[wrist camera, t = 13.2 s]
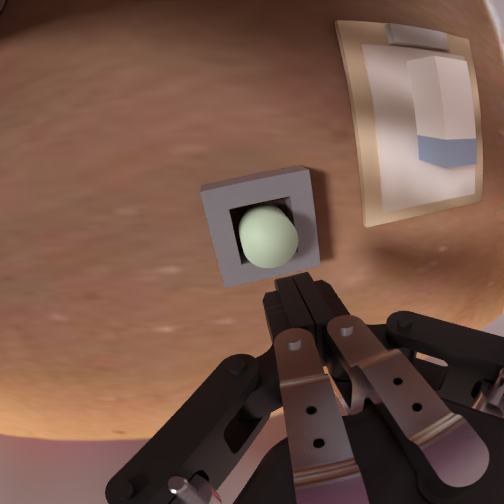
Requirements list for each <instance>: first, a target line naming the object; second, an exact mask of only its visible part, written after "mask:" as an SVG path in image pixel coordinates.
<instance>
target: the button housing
mask: <svg viewBox="0 0 504 504" xmlns="http://www.w3.org/2000/svg"><path fill="white" fill-rule="evenodd" d="M200 193H201V197H202V201H203V206H204V210H205V214H206V218H207V222H208V225H209V229H210V233H211V237H212V241H213V245H214V249H215V253H216V256H217V260H218V264H219V268H220V271H221V275H222V279H223V283H224V286H225V288H227V287H232V286H236V285H241V284H245V283H250V282H254V281H258V280H263V279H267V278H271V277H276V276H280V275H284V274H288V273H293V272H297V271H301V270H305V269H309V268H313V267H318V266H320V255H319V245H318V236H317V227H316V218H315V210H314V202H313V194H312V186H311V179H310V172H309V169H307V168H305V167H303V166H301V165H300V166H294V167H289V168H283V169H278V170H273V171H267V172H262V173H257V174H252V175H248V176H243V177H238V178H234V179H229V180H224V181H220V182H216V183H211V184H207V185H203V186H201V190H200ZM284 197H285V203H286V209H287V216H288V219H289V220H290V222H291V223H292V224H293V226H294V227H295V229H296V231H297V234H298V246H297V249H296V252H295V253H294V255H293V256H292V258H291V259H290V260H289V261H288V262H286V263H285V264H283V265H281V266H279V267H275V268H261V267H258V266H256V265H254V264H253V263H251V262H250V261H249V260H248V259H247V257H246V256H245V254H244V252H241V253H239V251H238V246H237V242H236V238H235V233H234V229H233V224H232V220H231V215H230V211H229V209H232V208H237V207H241V206H246V205H250V204H255V203H260V202H265V201H269V200H274V199H279V198H284Z"/></svg>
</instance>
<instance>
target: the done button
mask: <svg viewBox="0 0 504 504" xmlns="http://www.w3.org/2000/svg"><path fill="white" fill-rule="evenodd" d="M239 236H240V240H241V244H242V248H243V251H244V254H245V256H246V257H247V259H248V260H249V261H250V262H251V263H253V264H254V265H256V266H258V267H261V268H275V267H279V266H281V265H283V264H285V263H286V262H288V261H289V260H290V259H291V258H292V256H293V255H294V253H295V252H296V249H297V246H298V234H297V231H296V229H295V227H294V226H293V224H292V223H291V222H290V220H289V219H288V218H287V217H286V215H285V214H284V213H283V212H282V211H281V210H280V209H279V208H278V207H276V206H273V205H270V204H259V205H256V206H254V207H252V208H250V209H249V210H247V211H246V212H245V213H244V215H243V216H242V218H241V220H240V223H239Z"/></svg>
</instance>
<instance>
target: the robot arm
mask: <svg viewBox="0 0 504 504" xmlns="http://www.w3.org/2000/svg"><path fill="white" fill-rule="evenodd" d="M5 1H6V0H0V12H1V10H2V8H3V6H4V4H5ZM274 281H275V288H276V291H273V292H268V293H265V296H264V298H263V305H264V310H265V315H266V320H267V325H268V329H269V333H270V336H271V340H272V346H271V348H270V349H269V350H268V351H267V352H266V353H264V354H263V355H261V356H259V357H257V358H254V357H253V356H251V355H247V354H236V355H232V356H230V357H228V358H226V359H225V360H223V361H222V362H221V363H220V364H219V365H218V367H217V368H216V369H215V370H214V371H213V372H212V373H211V374H210V376H209V377H208V378H207V379H206V380H205V381H204V382H203V383H202V385H201V386H200V387H199V388H198V389H197V390H196V391H195V392H194V393H193V394H192V396H191V397H190V398H189V399H188V400H187V401H186V402H185V403H184V404H183V405H182V406H181V408H180V409H179V410H178V411H177V412H176V413H175V414H174V415H173V416H172V417H171V418H170V419H169V420H168V421H167V422H166V424H165V425H164V426H163V427H162V428H161V429H160V430H159V431H158V432H157V433H156V434H155V435H154V436H153V437H152V438H151V439H150V440H149V441H148V442H147V443H146V444H145V445H144V446H143V447H142V448H141V450H139V452H138V453H137V454H136V455H135V456H134V457H133V458H132V459H131V460H130V461H129V462H128V463H127V464H126V465H125V466H124V467H123V468H122V469H121V470H120V471H119V472H117V474H115V475H114V476H113V477H112V478H111V480H110V481H109V482H108V484H107V486H106V490H105V495H106V499H107V501H108V503H109V504H222V500H221V497H220V495H219V494H218V492H217V491H216V490H217V489H218V488H219V487H220V485H221V484H222V483H223V481H224V480H225V479H226V478H227V476H228V475H229V474H230V472H231V471H232V470H233V469H234V467H235V466H236V464H237V463H238V462H239V460H240V459H241V458H242V456H243V455H244V454H245V452H246V451H247V449H248V448H249V446H250V445H251V444H252V442H253V441H254V440H255V438H256V436H257V435H258V434H259V432H260V431H261V430H262V428H263V426H264V425H265V424H266V422H267V421H268V419H269V417H270V414H271V412H273V411H275V410H277V409H279V408H281V407H282V406H283V410H284V417H285V423H286V429H287V437H286V438H285V439H283V440H281V441H280V442H279V443H277V444H276V445H275V446H274V447H272V448H271V450H269V451H268V453H267V454H266V455H265V456H264V458H263V459H262V461H261V462H260V464H259V465H258V467H257V469H256V470H255V472H254V473H253V475H252V476H251V478H250V479H249V481H248V482H247V484H246V485H245V487H244V488H243V490H242V491H241V493H240V494H239V495H238V497H237V498H236V500H235V501H234V503H233V504H504V337H501V336H497V335H494V334H490V333H486V332H483V331H479V330H475V329H471V328H468V327H464V326H460V325H457V324H453V323H450V322H446V321H442V320H439V319H435V318H431V317H428V316H424V315H421V314H417V313H414V312H410V311H398V312H395V313H393V314H391V315H390V316H389V317H388V319H387V322H386V324H378V325H367V324H365V323H364V322H363V321H362V320H361V319H360V318H358V317H356V316H353V315H350V313H349V312H348V310H347V309H346V307H345V306H344V304H343V303H342V301H341V300H340V298H338V295H337V294H336V293H335V292H334V290H333V288H332V287H331V285H330V284H328V283H327V282H325V281H323V280H319V281H315V282H314V281H313V279H312V278H311V276H310V274H309V273H308V272H305V273H300V274H296V275H292V276H288V277H283V278H279V279H275V280H274ZM417 352H419V353H422V354H426V355H429V356H432V357H435V358H438V359H441V360H444V361H445V362H446V363H447V364H448V366H446V367H444V366H440V365H437V364H434V363H431V362H428V361H425V360H421V359H418V358H416V354H417ZM323 366H327V368H328V373H329V376H328V374H325V373H324V370H323ZM333 389H334V390H333ZM334 391H335V392H336V394H337V396H338V398H339V400H340V402H341V403H342V405H343V407H344V409H345V411H346V413H347V415H348V416H341V413H340V409H339V406H338V403H337V400H336V397H335V393H334Z"/></svg>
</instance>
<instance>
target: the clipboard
mask: <svg viewBox="0 0 504 504" xmlns="http://www.w3.org/2000/svg"><path fill="white" fill-rule="evenodd" d="M334 25H335V30H336V34H337V38H338V42H339V46H340V51H341V56H342V60H343V65H344V70H345V75H346V80H347V86H348V92H349V97H350V103H351V110H352V116H353V123H354V130H355V138H356V146H357V155H358V164H359V174H360V185H361V198H362V214H363V225H364V226H365V227H366V228H367V227H371V226H375V225H380V224H384V223H389V222H393V221H397V220H402V219H406V218H411V217H415V216H419V215H424V214H428V213H433V212H437V211H441V210H446V209H450V208H454V207H459V206H463V205H468V204H472V203H476V202H481V201H482V186H483V145H482V126H481V113H480V104H479V95H478V88H477V81H476V75H475V69H474V63H473V58H472V53H471V49H470V44H469V40H468V39H465V38H461V37H457V36H453V35H449V34H446V33H444V32H439V31H434V30H429V29H424V28H419V27H413V26H407V25H400V24H392V23H389V24H386V23H376V22H364V21H347V20H336V21H335V22H334ZM430 56H439V57H446V58H452V59H457V60H463V61H467V66H468V71H469V77H470V84H471V91H472V98H473V107H474V117H475V129H476V149H477V164H475V165H466V166H458V167H450V168H446V167H443V166H439V165H436V164H433V163H429V162H426V161H422V160H419V150H418V138H417V127H416V118H415V110H414V102H413V95H412V89H411V83H410V77H409V72H408V66H407V61H409V60H414V59H419V58H425V57H430Z"/></svg>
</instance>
